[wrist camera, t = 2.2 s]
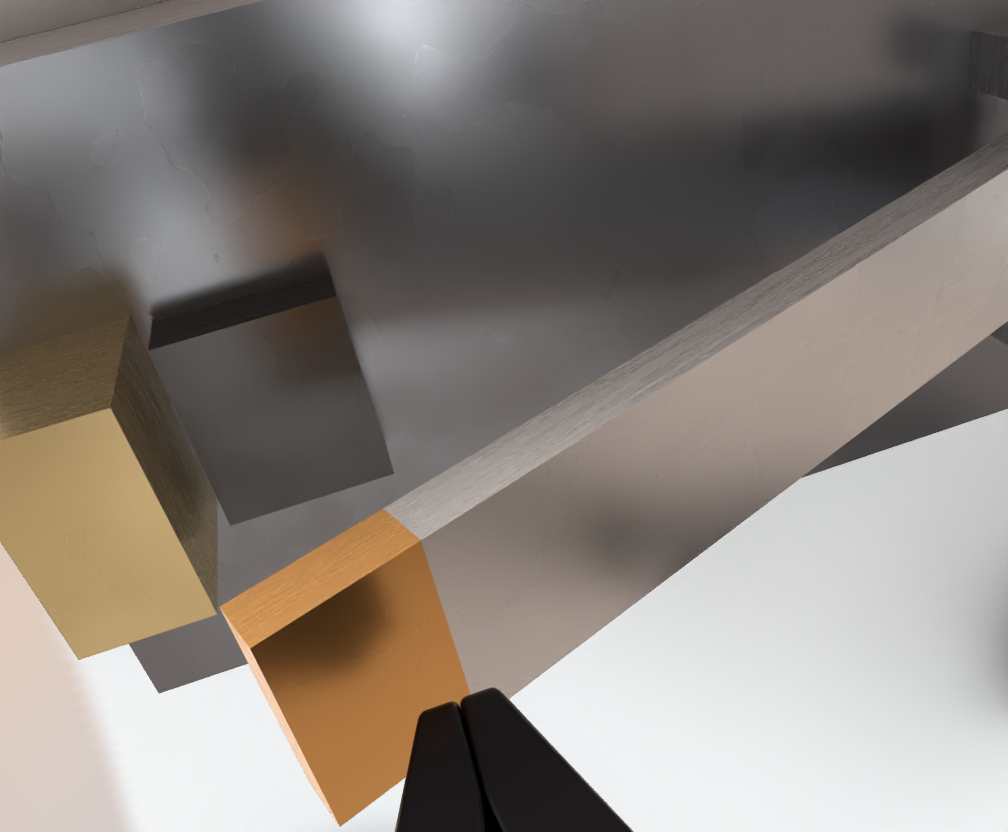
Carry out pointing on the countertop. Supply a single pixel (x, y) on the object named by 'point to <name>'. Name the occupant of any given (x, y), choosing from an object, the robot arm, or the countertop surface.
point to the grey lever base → (407, 253)
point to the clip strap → (617, 484)
